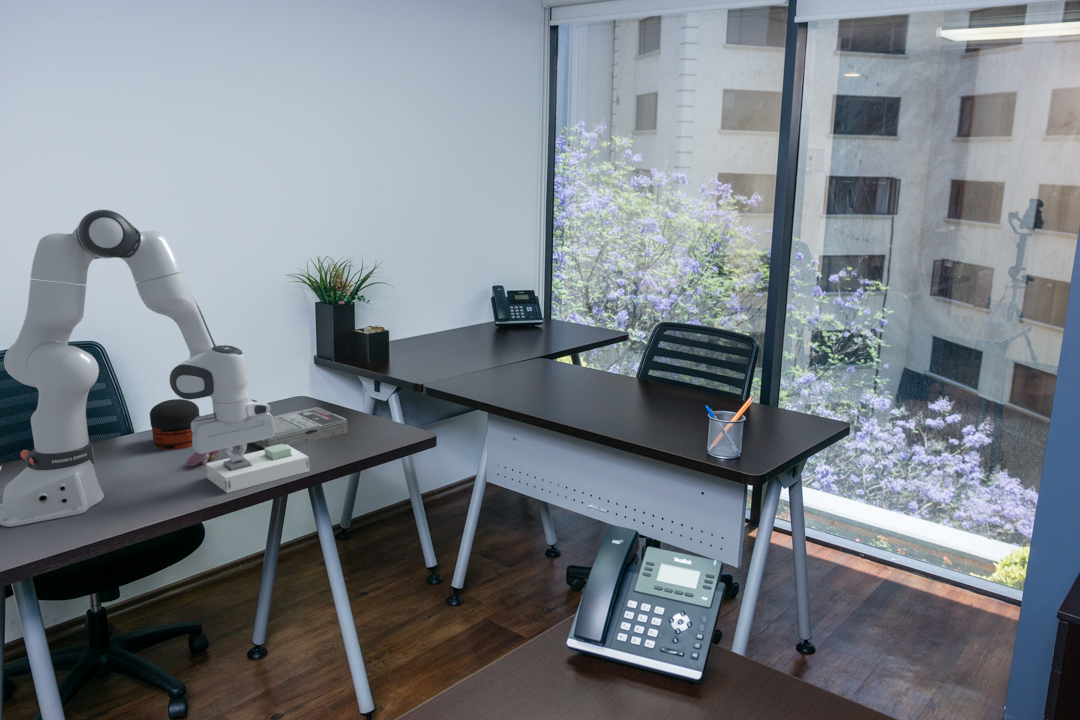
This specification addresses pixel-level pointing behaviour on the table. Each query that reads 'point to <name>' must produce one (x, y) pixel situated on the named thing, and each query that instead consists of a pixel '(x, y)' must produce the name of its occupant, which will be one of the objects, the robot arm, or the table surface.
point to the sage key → (277, 452)
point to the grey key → (236, 464)
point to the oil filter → (173, 424)
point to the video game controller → (201, 458)
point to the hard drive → (303, 428)
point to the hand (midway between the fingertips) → (236, 461)
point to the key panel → (257, 470)
